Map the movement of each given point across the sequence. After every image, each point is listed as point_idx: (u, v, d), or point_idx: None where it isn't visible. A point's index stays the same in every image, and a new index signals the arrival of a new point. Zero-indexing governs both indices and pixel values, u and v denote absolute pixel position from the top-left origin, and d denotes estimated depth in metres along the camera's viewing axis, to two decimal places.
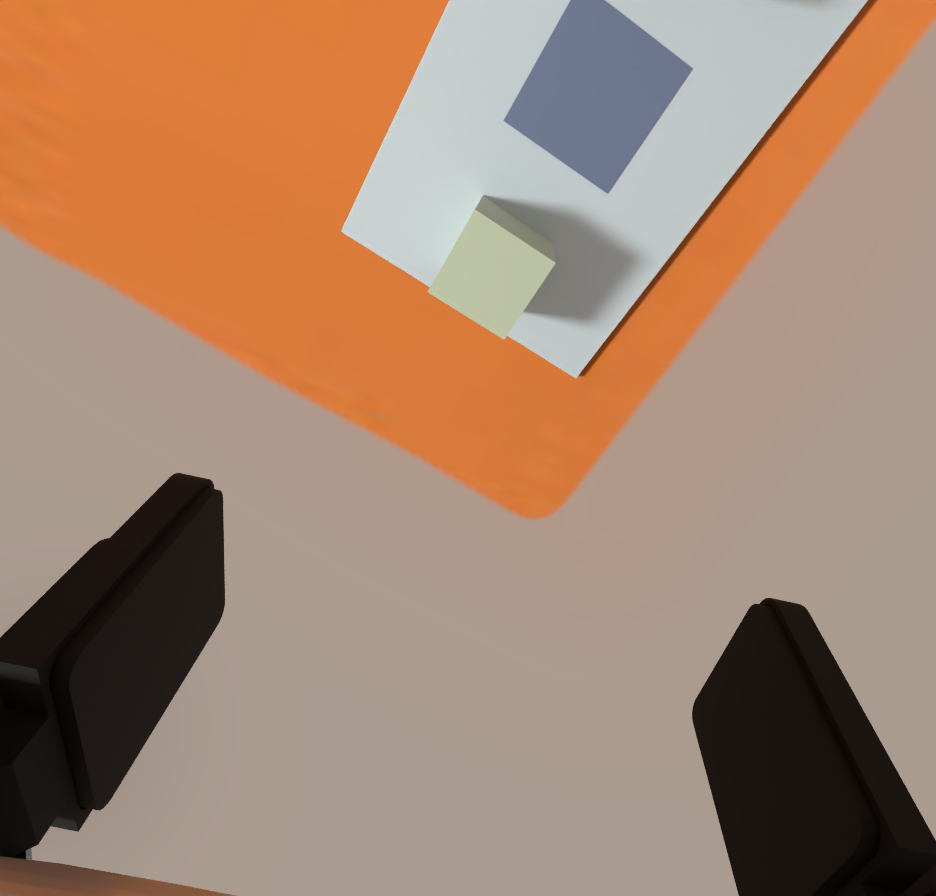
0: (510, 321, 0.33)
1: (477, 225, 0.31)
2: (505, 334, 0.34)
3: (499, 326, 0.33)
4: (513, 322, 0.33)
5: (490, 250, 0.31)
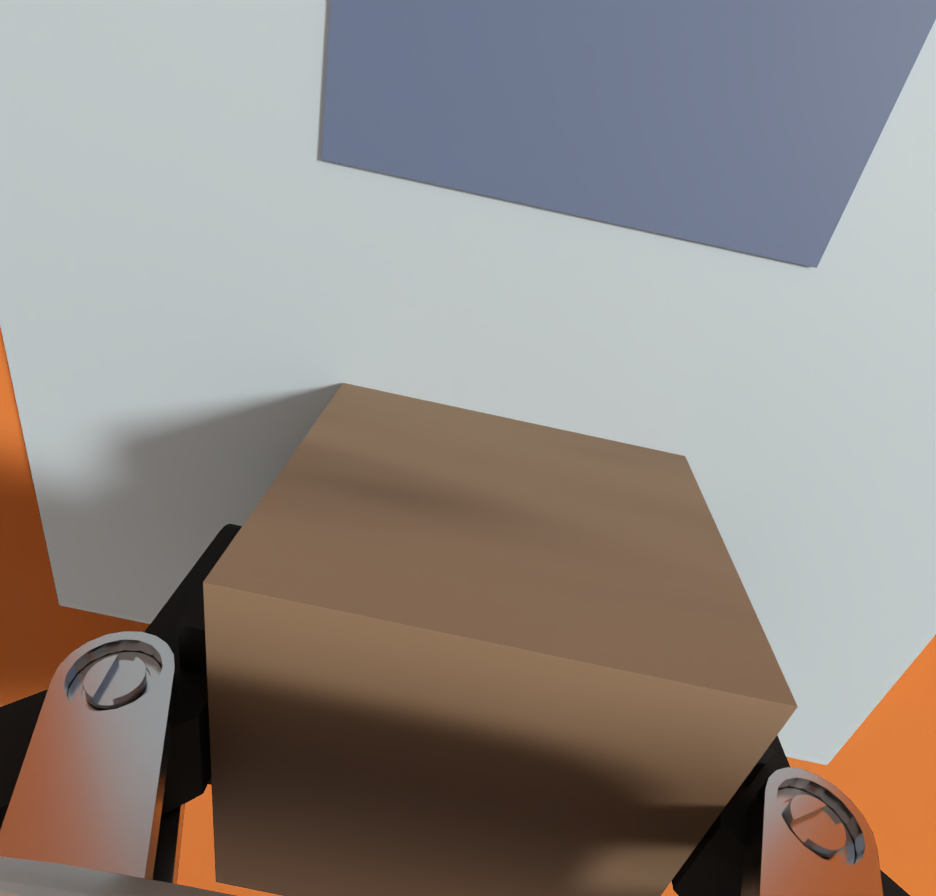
0: None
1: None
2: None
3: None
4: None
5: None
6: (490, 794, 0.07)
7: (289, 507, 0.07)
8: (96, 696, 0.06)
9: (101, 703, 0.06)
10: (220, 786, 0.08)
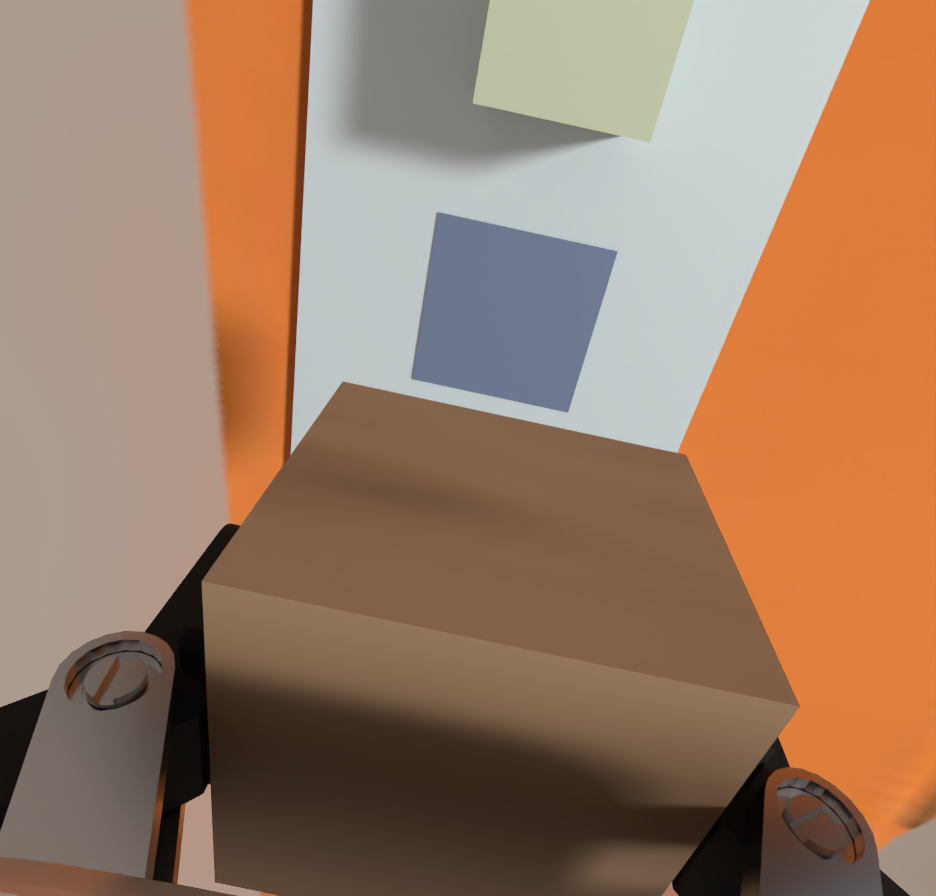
0: None
1: (639, 114, 0.16)
2: None
3: None
4: None
5: (602, 74, 0.16)
6: (490, 794, 0.07)
7: (288, 506, 0.07)
8: (97, 696, 0.06)
9: (102, 703, 0.06)
10: (219, 786, 0.08)
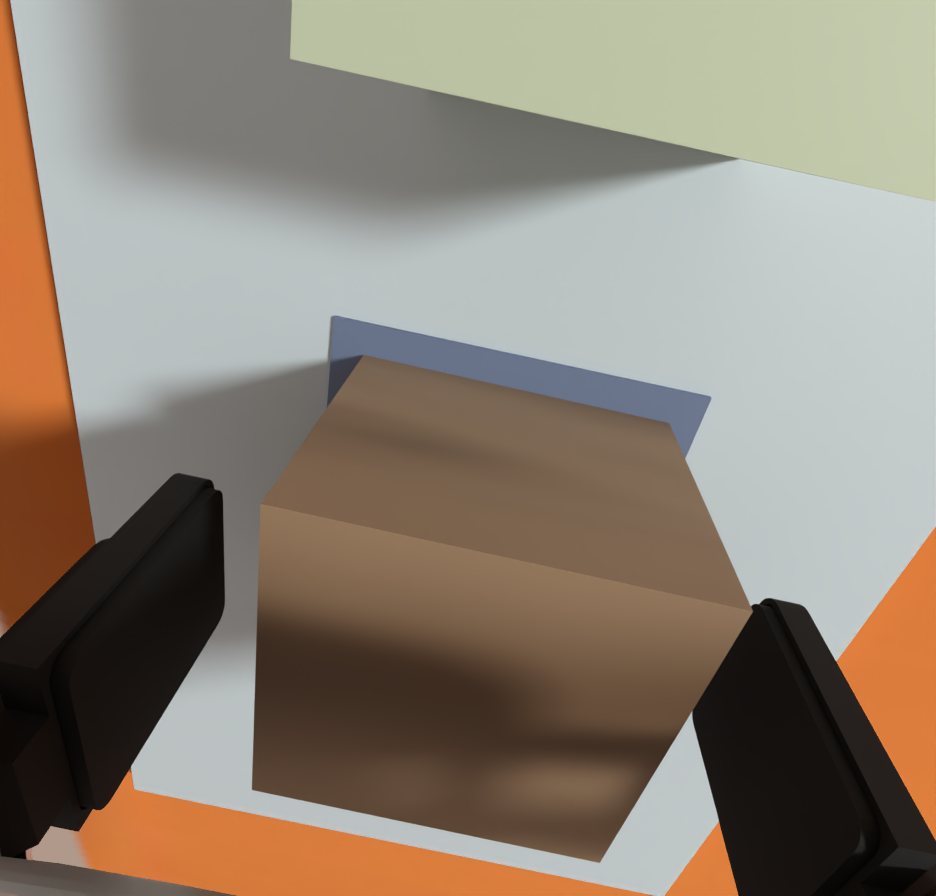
0: None
1: None
2: None
3: None
4: None
5: None
6: (495, 698, 0.08)
7: (325, 451, 0.08)
8: None
9: None
10: (262, 695, 0.09)
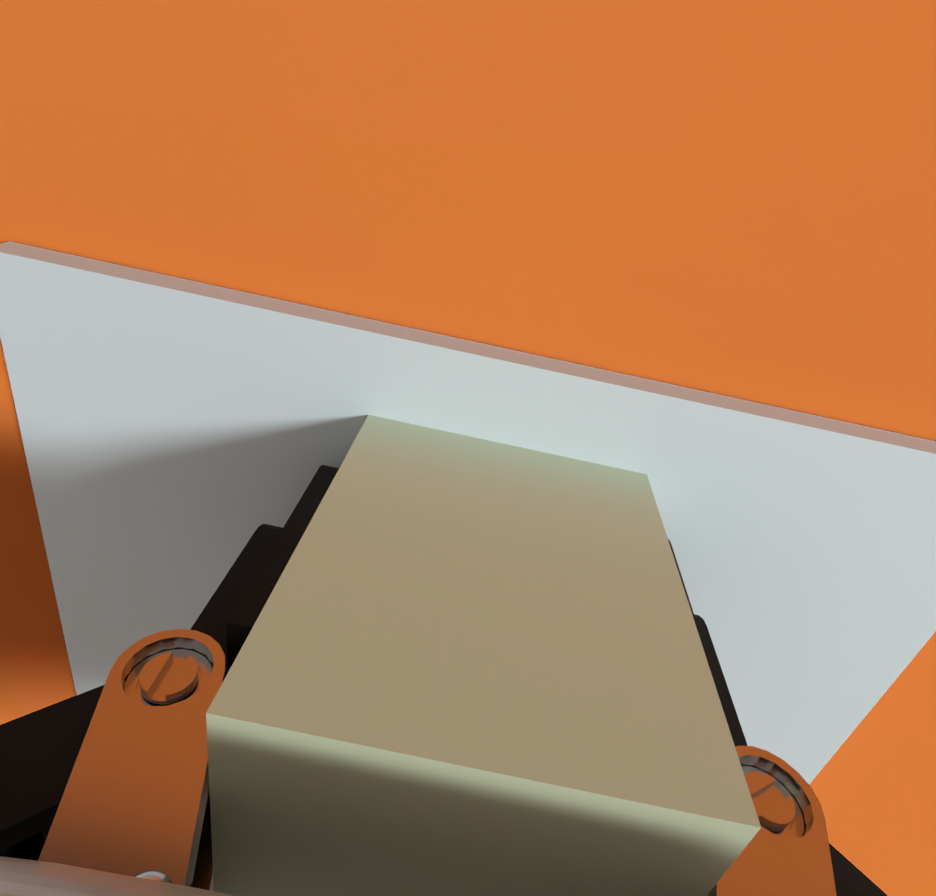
0: (237, 789, 0.06)
1: None
2: (218, 734, 0.05)
3: (274, 760, 0.05)
4: (219, 789, 0.06)
5: None
6: None
7: None
8: (150, 691, 0.07)
9: (154, 698, 0.07)
10: None
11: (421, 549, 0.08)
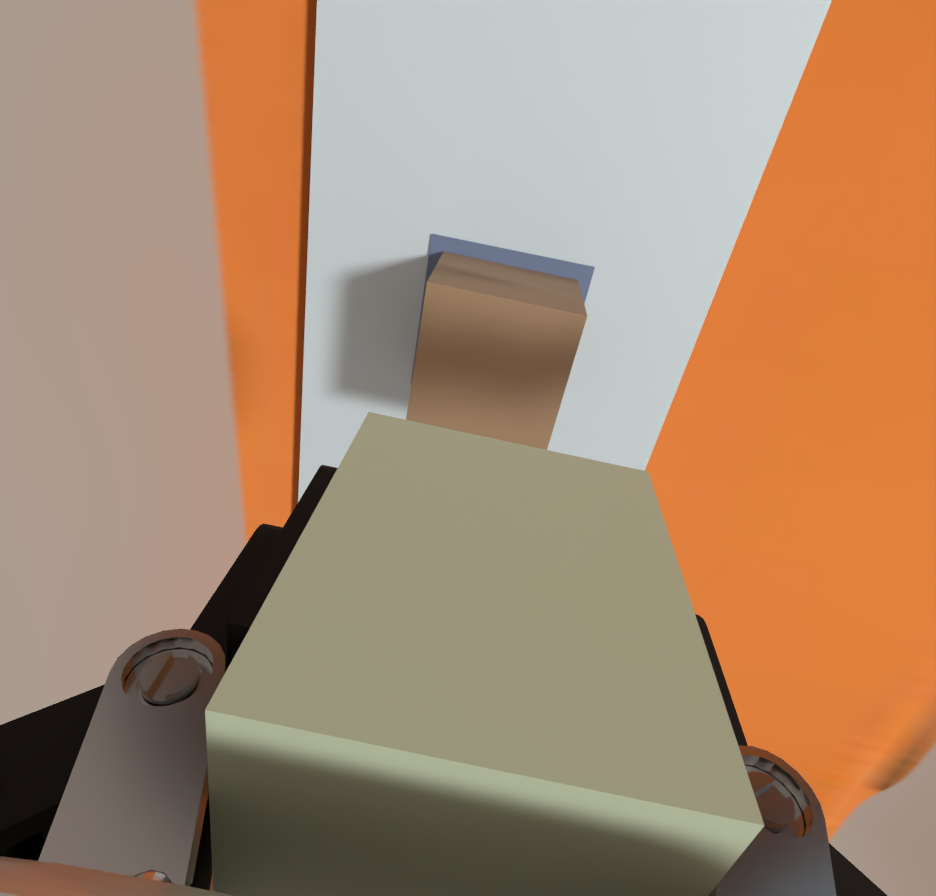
0: (236, 786, 0.06)
1: None
2: (217, 731, 0.05)
3: (273, 757, 0.05)
4: (218, 786, 0.06)
5: None
6: (503, 363, 0.23)
7: (441, 273, 0.23)
8: (150, 691, 0.07)
9: (154, 698, 0.07)
10: (416, 369, 0.24)
11: (422, 546, 0.08)
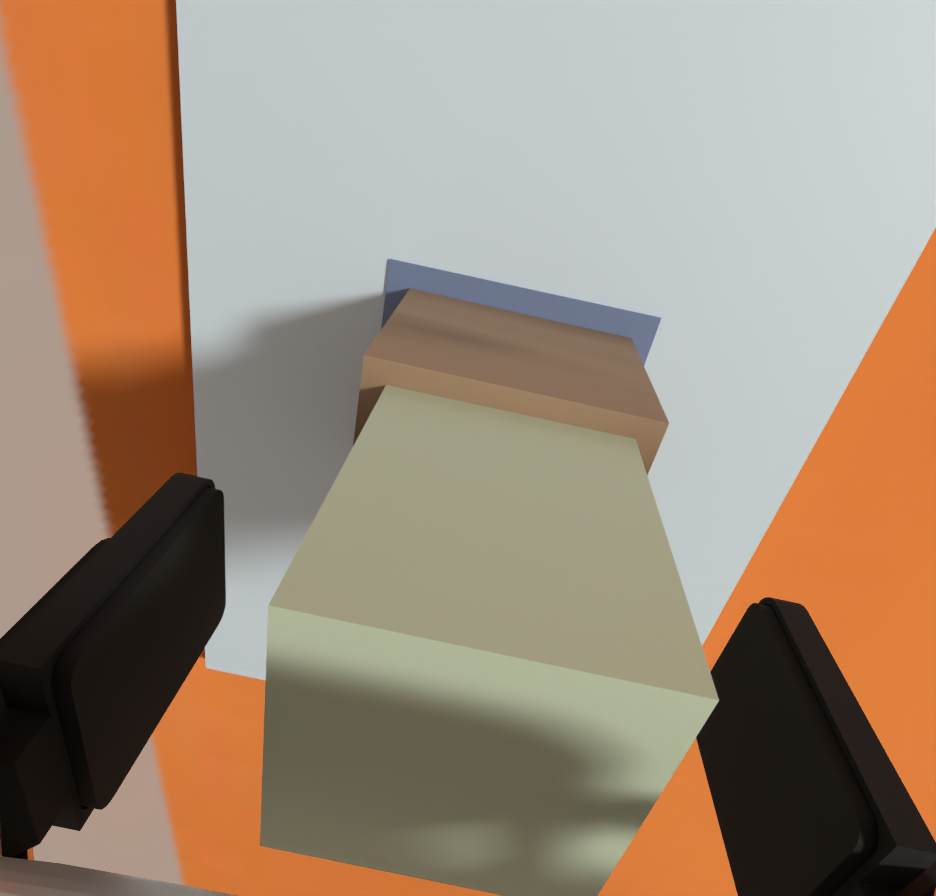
0: (289, 676, 0.07)
1: (563, 886, 0.09)
2: (276, 625, 0.07)
3: (321, 648, 0.07)
4: (274, 676, 0.07)
5: (492, 844, 0.08)
6: None
7: (396, 335, 0.13)
8: None
9: None
10: None
11: (437, 493, 0.09)
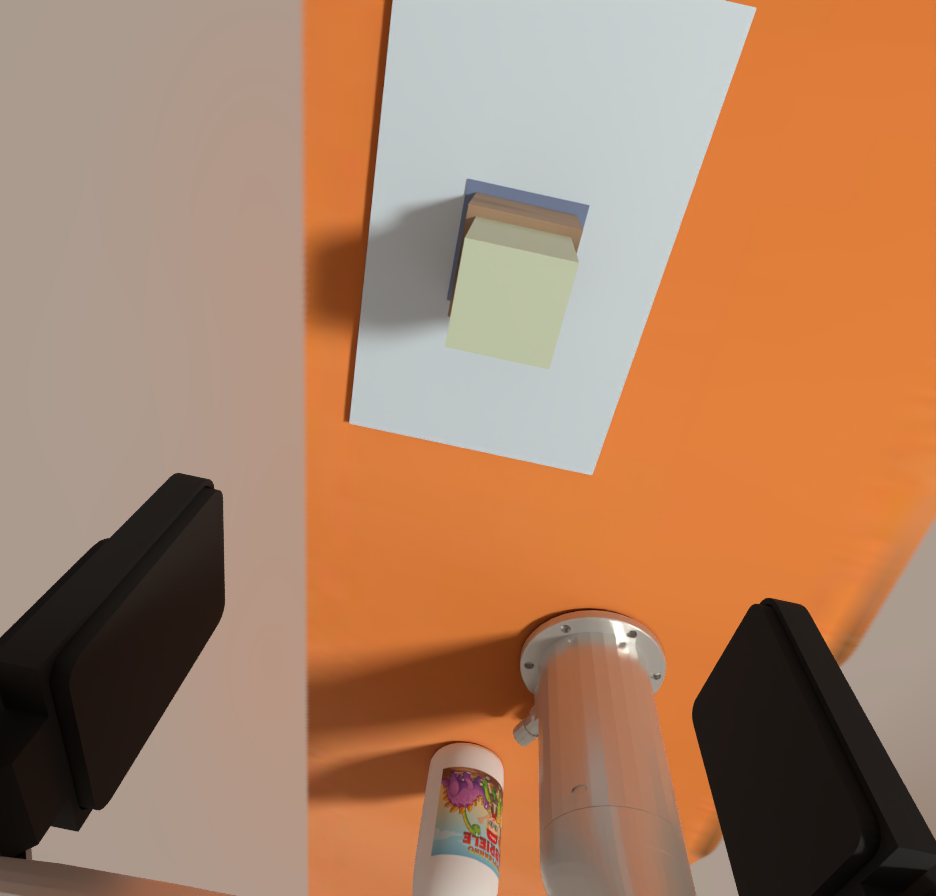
0: (466, 264, 0.26)
1: (541, 355, 0.28)
2: (465, 245, 0.26)
3: (476, 252, 0.26)
4: (462, 264, 0.26)
5: (519, 335, 0.27)
6: None
7: (477, 201, 0.32)
8: None
9: None
10: (457, 272, 0.32)
11: (501, 233, 0.28)
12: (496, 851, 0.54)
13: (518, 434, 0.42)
